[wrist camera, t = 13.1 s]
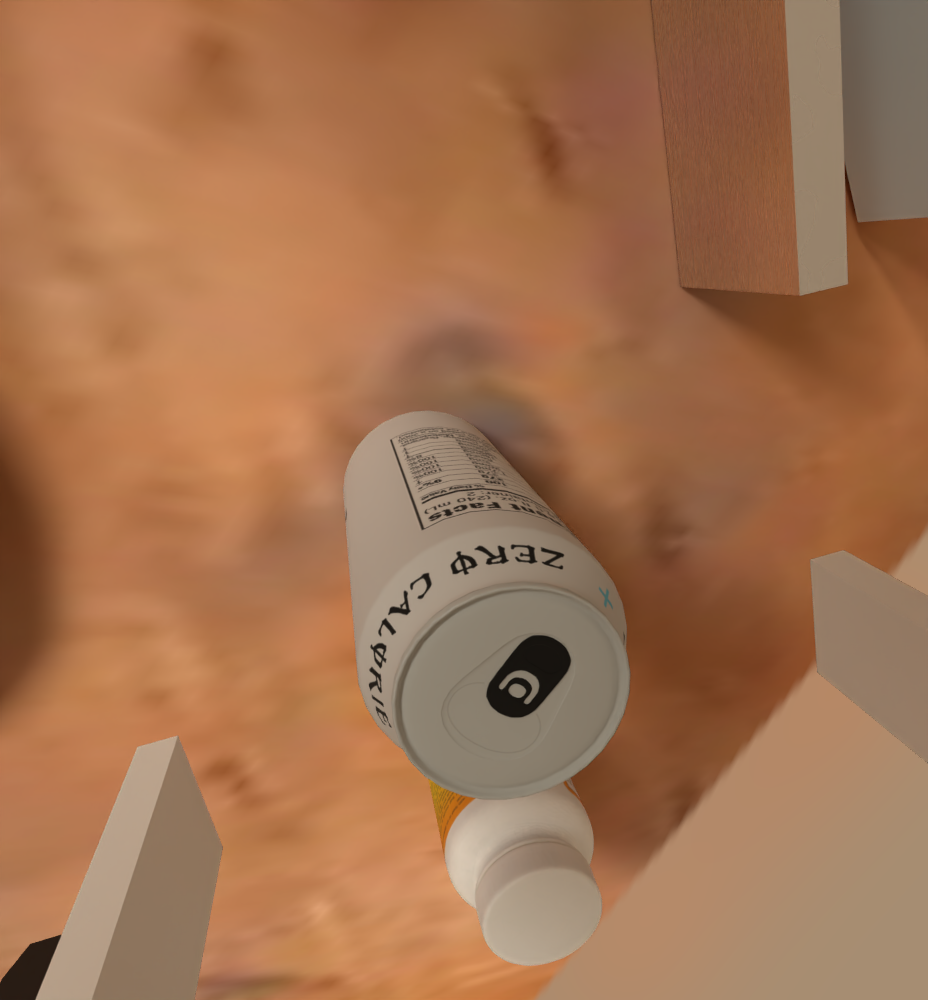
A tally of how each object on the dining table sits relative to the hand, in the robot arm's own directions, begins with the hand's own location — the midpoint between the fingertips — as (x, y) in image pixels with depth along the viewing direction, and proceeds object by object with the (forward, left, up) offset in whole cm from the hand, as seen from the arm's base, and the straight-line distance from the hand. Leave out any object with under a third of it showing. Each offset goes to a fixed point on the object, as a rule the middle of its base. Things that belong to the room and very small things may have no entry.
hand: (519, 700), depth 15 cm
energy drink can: (0, 0, -15) cm, 15 cm away
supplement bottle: (0, -12, -15) cm, 19 cm away
